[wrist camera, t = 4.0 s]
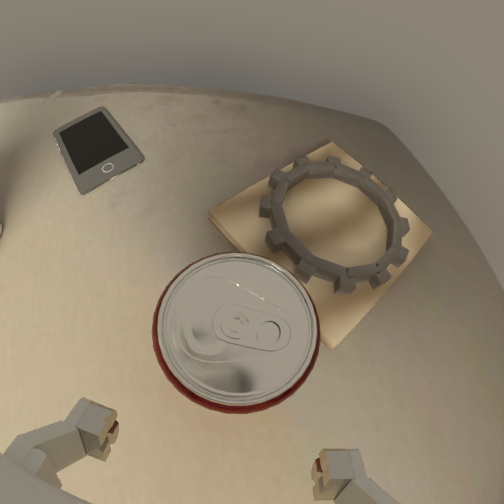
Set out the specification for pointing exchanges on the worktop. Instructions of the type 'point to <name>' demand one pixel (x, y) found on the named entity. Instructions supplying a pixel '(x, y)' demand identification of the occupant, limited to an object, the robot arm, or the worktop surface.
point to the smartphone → (95, 149)
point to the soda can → (236, 332)
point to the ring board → (327, 233)
